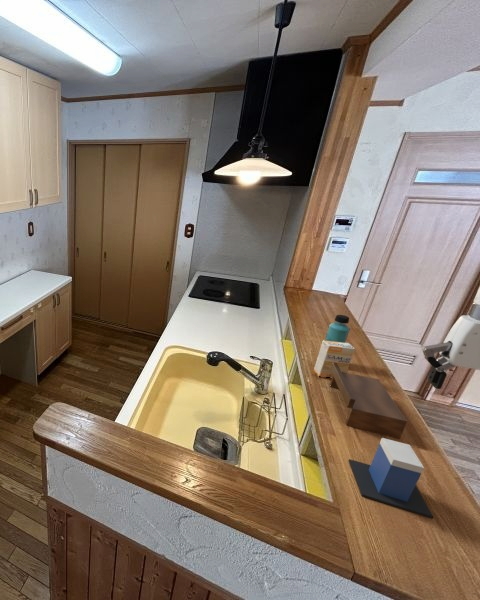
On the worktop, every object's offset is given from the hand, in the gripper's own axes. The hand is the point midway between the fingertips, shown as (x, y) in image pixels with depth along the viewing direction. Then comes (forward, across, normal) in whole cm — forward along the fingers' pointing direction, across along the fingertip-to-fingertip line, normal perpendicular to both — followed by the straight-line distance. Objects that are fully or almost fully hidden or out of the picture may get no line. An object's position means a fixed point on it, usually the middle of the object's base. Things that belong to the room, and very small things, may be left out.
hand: (465, 390), depth 68 cm
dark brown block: (+26, +5, -27) cm, 38 cm away
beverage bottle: (+26, +7, -56) cm, 62 cm away
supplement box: (+26, +10, -45) cm, 53 cm away
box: (+25, +8, +5) cm, 27 cm away
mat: (+26, +8, +5) cm, 28 cm away
